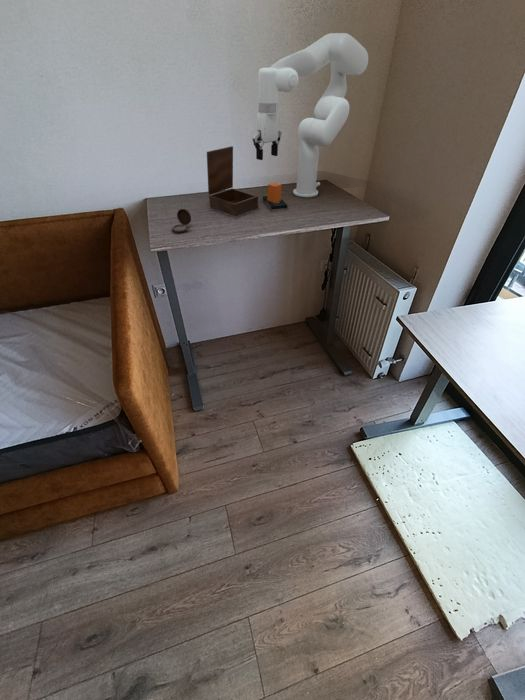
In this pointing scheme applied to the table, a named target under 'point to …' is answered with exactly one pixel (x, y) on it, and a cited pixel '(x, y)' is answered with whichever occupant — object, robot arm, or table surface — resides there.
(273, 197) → the block
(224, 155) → the case lid
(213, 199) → the case
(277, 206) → the vhs tape
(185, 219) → the compass
